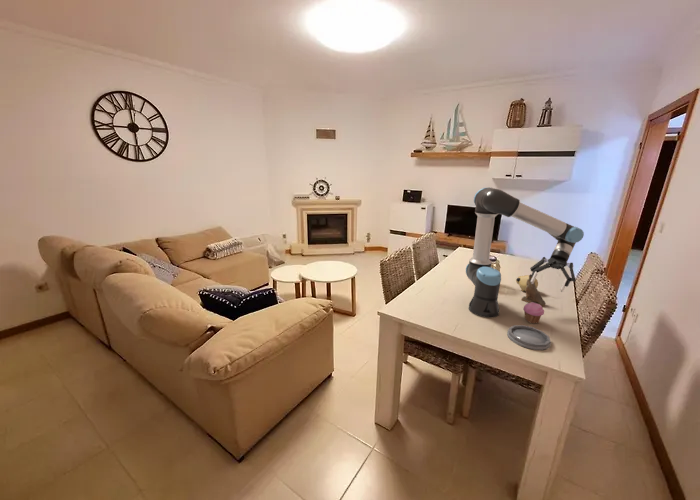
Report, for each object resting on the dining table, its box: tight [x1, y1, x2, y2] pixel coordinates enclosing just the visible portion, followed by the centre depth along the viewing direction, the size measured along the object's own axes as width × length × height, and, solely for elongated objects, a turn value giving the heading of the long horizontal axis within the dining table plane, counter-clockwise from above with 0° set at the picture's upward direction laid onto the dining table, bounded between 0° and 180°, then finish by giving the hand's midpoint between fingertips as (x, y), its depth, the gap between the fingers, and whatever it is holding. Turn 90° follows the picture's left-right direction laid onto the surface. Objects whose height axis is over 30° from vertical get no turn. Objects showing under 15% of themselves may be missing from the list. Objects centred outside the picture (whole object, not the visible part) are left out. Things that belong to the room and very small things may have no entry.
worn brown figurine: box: [520, 273, 546, 308], centre depth 168 cm, size 12×6×18 cm, turn 36°
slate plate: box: [506, 324, 552, 351], centre depth 133 cm, size 17×17×2 cm
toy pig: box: [515, 274, 539, 292], centre depth 184 cm, size 10×12×11 cm
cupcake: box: [522, 302, 545, 324], centre depth 147 cm, size 9×9×10 cm
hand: (546, 286), depth 150 cm, fingers open, 13 cm apart
